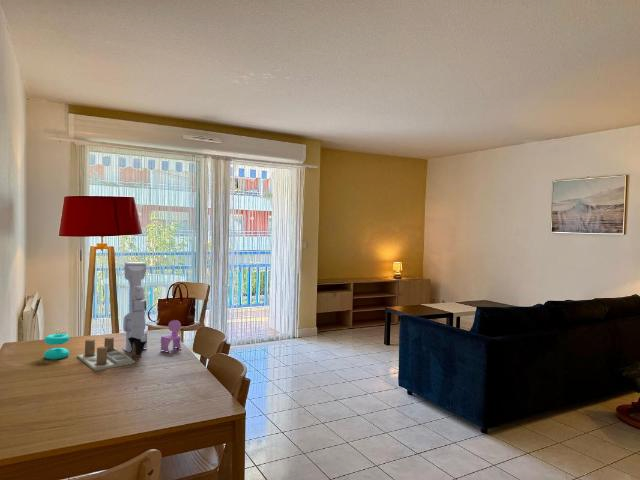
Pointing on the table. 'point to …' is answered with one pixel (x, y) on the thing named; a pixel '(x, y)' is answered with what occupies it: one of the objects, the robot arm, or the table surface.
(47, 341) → the donuts
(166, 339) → the toy chair
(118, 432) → the table surface
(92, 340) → the pin board
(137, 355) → the walnut pin
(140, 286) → the robot arm
